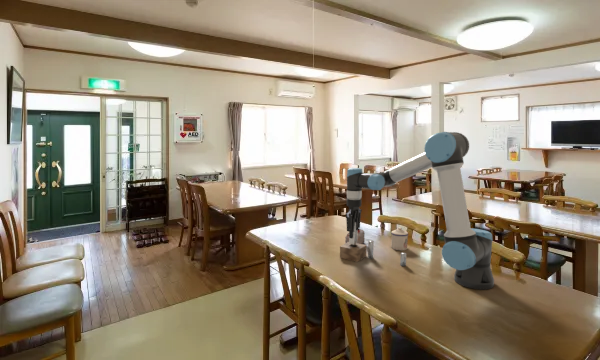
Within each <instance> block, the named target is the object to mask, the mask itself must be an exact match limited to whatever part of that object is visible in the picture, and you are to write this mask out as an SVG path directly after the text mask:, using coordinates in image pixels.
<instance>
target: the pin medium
mask: <svg viewBox="0 0 600 360" xmlns="http://www.w3.org/2000/svg"><path fill="white" fill-rule="evenodd" d="M367 245H368V247H367V251H368V253H367V259H370V260H373V259H374V248H375V246H374V240H372V239H370V240H368V243H367Z"/></svg>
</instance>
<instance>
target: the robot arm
mask: <svg viewBox="0 0 600 360" xmlns="http://www.w3.org/2000/svg"><path fill="white" fill-rule="evenodd" d="M423 149H424V152H422V153H420V154H417V155H416V156H414V157H412V158H410V159H408V160H406V161H403V162H402V163H399V164H398V165H395V166H392V167H391V168H389V169H387V170H384V171H381V172H374V173H366V172H363V169H362V168H359V167H350V168H348V169H347V171H346V192H345V193H346V206H347V207H348V210H347V211H348V212H345V218H346V219H345V221H346V232H347V233H349V244H353V245H354V242H355V232H354V222H356V243H357V236H358V230H360V227H361V219H362V208H361V207H362V201H363V200H362V196H363V192H362V191H363V189H366V190H372V191H381V190H382V189H383V188H386V187H391V186H393V185H396V183H398V182H401V181H403V180H405V179H408V178H410V177H413V176H415V175H417V174H419V173H422V172H424V171H426V170H428V169H431V168H432V170H434V171H436V173H437V178H438V184H439V192H440V197H441V202H442V210H443V214H444V220H445V226H446V231H445V233H443V238H444V239H443V240H444V244H443V246H442V248H441V256H442V259H443V261H444V262H445V263H446V264H447V265H448V266H449V267H450V268H452V269H454V270H455V271H454V273H453V275H454V277H453V278H454V279H453V280H454V281H455V283H457V284H459V285H460V286H463V287H465V288H469V289H474V290H490V289H493V288H494V286H495V279H494V275H493V272H492V268H491V263H492V262H491V260H492V251H493V250H492V249H493V248H492V247H493V240H494V239H493V234H492V233H491V231H488V230H485V229H479V228H471V224H470V223H471V222H470V217H469V212H468V204H467V200H466V194H465V189H464V182H463V178H462V177H463V176H462V169H461V167H462V166H463V165H464V157H465V156H466V155H467V154H468V152H469V150H470V141H469V140H468V138H467V137H466V135H464V134H463V133H462V132H456V131H455V132H454V131H453V132H452V131H450V132H449V131H442V132H441V131H440V132H437V133H434V134H432V135H431V136H430V137H428V139H427V140H426V141H425V144H424V148H423ZM360 208H361V209H360Z"/></svg>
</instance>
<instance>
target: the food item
mask: <svg viewBox="0 0 600 360" xmlns="http://www.w3.org/2000/svg"><path fill="white" fill-rule="evenodd" d="M359 229H360V228H359ZM365 238H366V237H365V231H364V230H363V229H360V230H358V236H357V243H359V244H364V243H365V242H366V241H365ZM348 242H349V232H347V234H346V236H345V243H344V244H346V243H348Z"/></svg>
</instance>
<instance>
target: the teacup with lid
mask: <svg viewBox="0 0 600 360" xmlns="http://www.w3.org/2000/svg"><path fill="white" fill-rule="evenodd" d="M390 233H391V243H390V244H391V245H390V247H391V249H393V250H395V251H406V250H407V249H408V237H409V232H408V231H407V230H404V229H402V227H397V229H394V230H392V231H391V232H390Z"/></svg>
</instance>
